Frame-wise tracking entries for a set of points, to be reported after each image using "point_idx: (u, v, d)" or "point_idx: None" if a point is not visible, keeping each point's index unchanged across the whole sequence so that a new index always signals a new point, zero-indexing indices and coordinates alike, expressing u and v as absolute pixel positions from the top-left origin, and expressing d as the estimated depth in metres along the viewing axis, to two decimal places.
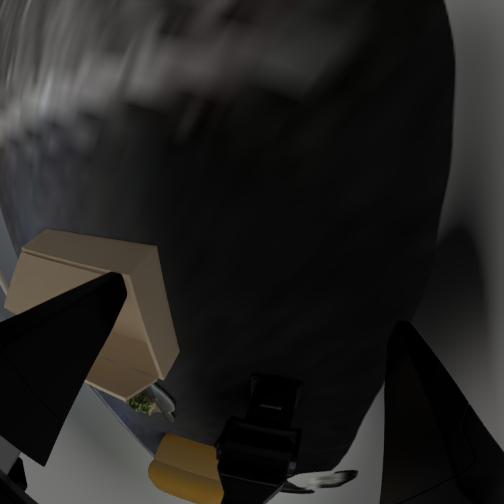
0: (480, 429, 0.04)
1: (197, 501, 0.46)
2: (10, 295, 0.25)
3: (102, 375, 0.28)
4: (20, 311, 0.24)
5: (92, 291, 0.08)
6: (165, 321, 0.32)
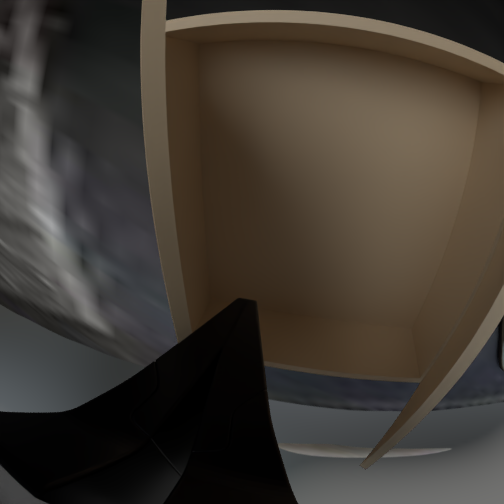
0: (270, 422, 0.05)
1: None
2: None
3: None
4: None
5: (235, 327, 0.07)
6: None
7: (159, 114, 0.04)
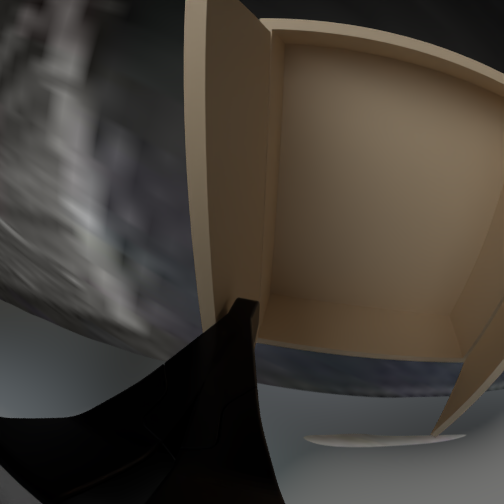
0: (260, 420, 0.05)
1: None
2: None
3: None
4: None
5: (244, 329, 0.07)
6: None
7: (198, 110, 0.05)
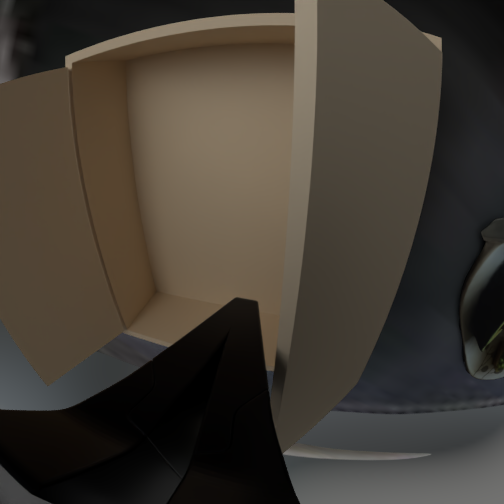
0: (272, 423, 0.05)
1: None
2: (58, 360, 0.14)
3: None
4: None
5: (232, 326, 0.07)
6: None
7: None
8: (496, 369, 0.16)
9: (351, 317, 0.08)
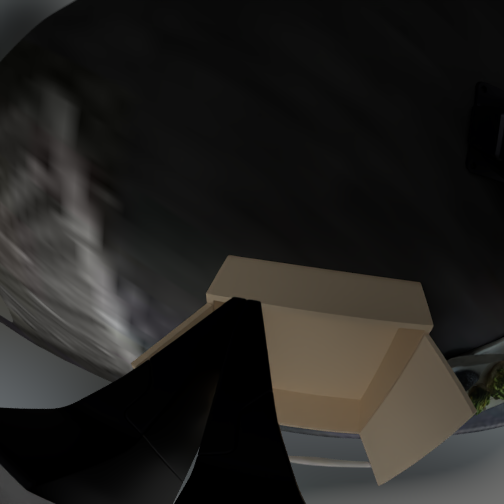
0: (277, 423, 0.05)
1: None
2: None
3: (422, 421, 0.16)
4: None
5: (229, 326, 0.07)
6: (339, 281, 0.21)
7: None
8: None
9: None
